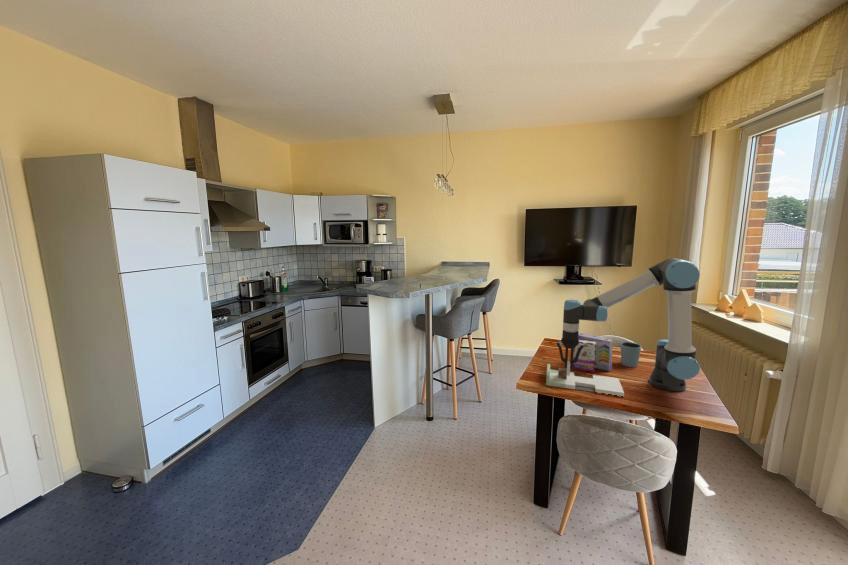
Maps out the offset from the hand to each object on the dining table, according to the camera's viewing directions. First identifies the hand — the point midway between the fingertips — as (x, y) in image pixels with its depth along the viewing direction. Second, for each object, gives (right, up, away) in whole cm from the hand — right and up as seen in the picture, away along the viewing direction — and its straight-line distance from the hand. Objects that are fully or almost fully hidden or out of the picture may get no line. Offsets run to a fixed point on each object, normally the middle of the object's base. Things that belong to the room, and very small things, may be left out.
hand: (568, 374), depth 175 cm
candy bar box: (+15, -2, +16) cm, 22 cm away
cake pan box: (+23, -1, +21) cm, 31 cm away
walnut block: (-2, -2, +1) cm, 3 cm away
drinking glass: (+45, 0, +22) cm, 50 cm away
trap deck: (+7, -4, -2) cm, 9 cm away
